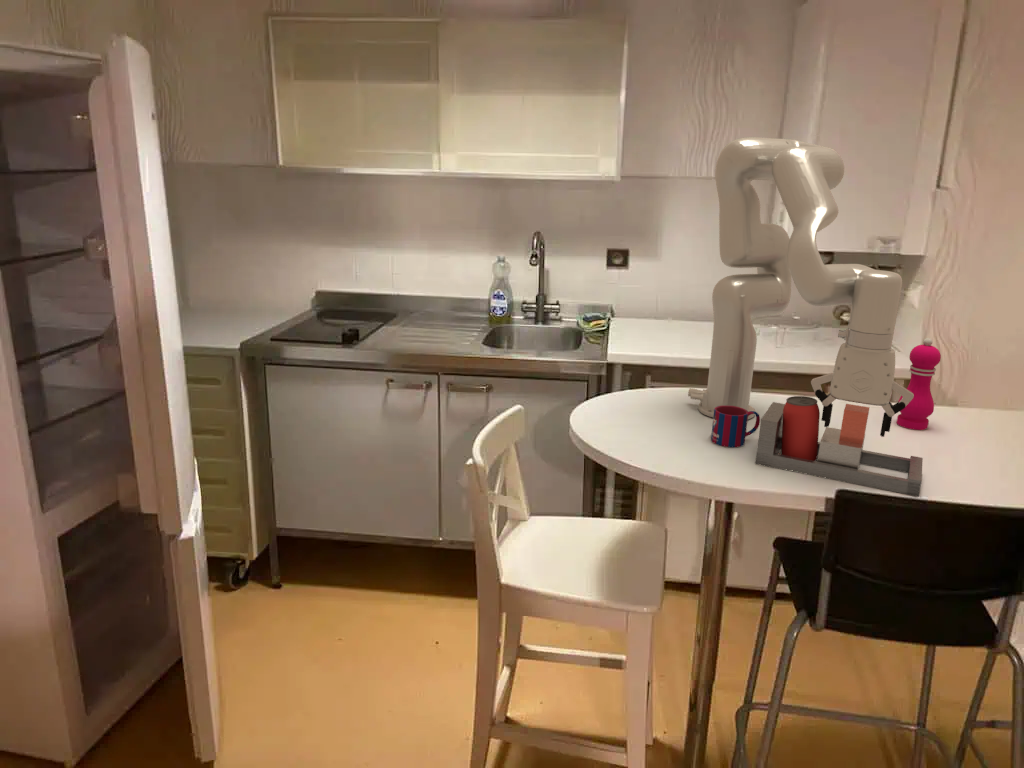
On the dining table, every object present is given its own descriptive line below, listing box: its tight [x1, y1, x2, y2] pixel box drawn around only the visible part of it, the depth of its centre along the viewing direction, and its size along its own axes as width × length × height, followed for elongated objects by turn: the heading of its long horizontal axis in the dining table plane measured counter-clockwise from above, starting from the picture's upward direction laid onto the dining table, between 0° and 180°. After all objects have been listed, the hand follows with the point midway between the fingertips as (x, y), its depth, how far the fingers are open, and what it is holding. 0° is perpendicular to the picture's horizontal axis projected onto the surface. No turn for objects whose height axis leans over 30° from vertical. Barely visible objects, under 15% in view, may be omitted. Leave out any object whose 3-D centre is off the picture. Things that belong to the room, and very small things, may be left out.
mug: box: [710, 405, 761, 448], centre depth 157 cm, size 7×10×7 cm
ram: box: [816, 403, 870, 470], centre depth 144 cm, size 7×9×12 cm
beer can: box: [780, 395, 821, 461], centre depth 147 cm, size 7×7×12 cm
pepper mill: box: [896, 337, 941, 431], centre depth 168 cm, size 7×7×20 cm
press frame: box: [754, 401, 924, 497], centre depth 144 cm, size 28×12×9 cm, turn 62°
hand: (854, 429), depth 143 cm, fingers open, 9 cm apart
